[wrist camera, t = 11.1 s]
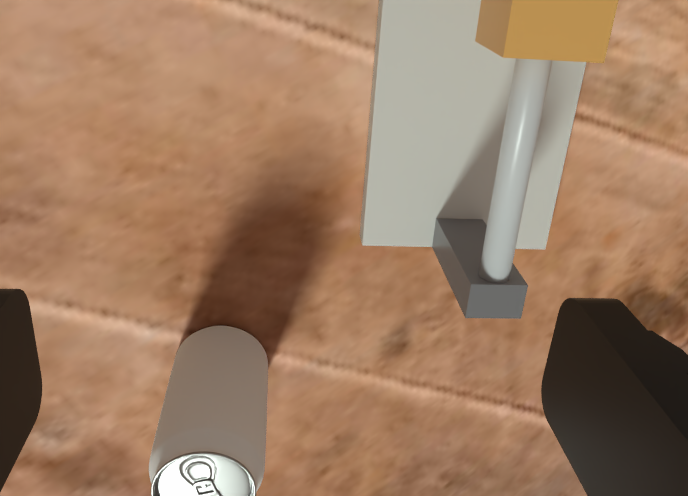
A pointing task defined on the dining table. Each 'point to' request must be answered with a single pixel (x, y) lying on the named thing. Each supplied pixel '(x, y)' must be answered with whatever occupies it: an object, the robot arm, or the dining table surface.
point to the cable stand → (463, 149)
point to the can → (213, 417)
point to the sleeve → (547, 29)
